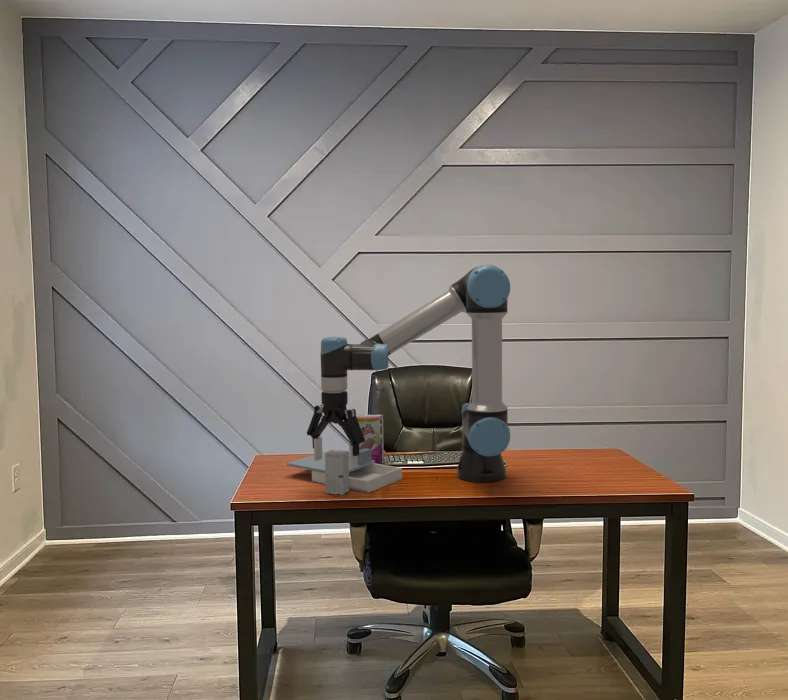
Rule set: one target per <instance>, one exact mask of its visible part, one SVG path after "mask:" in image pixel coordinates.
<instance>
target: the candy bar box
mask: <svg viewBox="0 0 788 700" xmlns="http://www.w3.org/2000/svg"><path fill="white" fill-rule="evenodd" d="M356 417H357V420H358V423H359V425H360V428H361V430H362V433H363V436H364V438H365V442H363V443H360V444H359V450H361V449H364V448H367V449H371V460H374V461H375V463H376V464H382V461H383V459H384V460H385V455H384V454H385V452H384V451H385V449H384V442H385V441H384V415H383V414H356ZM349 445H351V442H350V441H349ZM382 465H383V464H382Z"/></svg>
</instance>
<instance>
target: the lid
mask: <svg viewBox="0 0 788 700" xmlns="http://www.w3.org/2000/svg"><path fill="white" fill-rule="evenodd" d="M326 452H327V451H326ZM326 452H325V451H322V459H320V460H317V461H315V460H314V454H312V455H309V456H308V455H307V456H306V457H302V458H299V459H296V460H291V461H290V462H286V466H287V467H293V468H297V469H302V470H303V469H304V470H308V471H311V472H312V471H318V472H323V473H325V453H326ZM373 463H375V461H374V460H371V449H367V448H364V449H361V450H359V455H358V466H356V467H353V468H350V464H349V472H351V471H354V470H357V469H359V468H362V467H365V466H368V465H370V464H373Z"/></svg>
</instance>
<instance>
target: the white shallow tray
mask: <svg viewBox="0 0 788 700" xmlns="http://www.w3.org/2000/svg"><path fill="white" fill-rule="evenodd" d="M401 480H403V468H402V467H400V466H399V467H398V466H392V465H388V464H387V465H386V464H376V463H373V464H370V465H368V466H365V467H362V468H359V469H357V470H354V471H351V472H349V490H350V489H352V490H351V491H355V490H356V491H355V492H360V491H361V493H365V492H366V494H369V492H370V493H372V492H374V491H376V489H377V490H379V489H382V488H384V487H386V486H388V485H391V484H393V483H397V482H398V481H401ZM311 482H312V483H316V482H317V483H316V484H321V483H322V484H321V485H325V473H323V472H318V471H312V470H311ZM371 491H372V492H371Z"/></svg>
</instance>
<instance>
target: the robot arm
mask: <svg viewBox="0 0 788 700" xmlns="http://www.w3.org/2000/svg"><path fill="white" fill-rule="evenodd" d="M510 291H511V282H510V279H509V277H508V275H507V273H506V272H505V271H504V270H503V269H501V268H500V267H498V266H496V265H492V264H486V265H480V266H476V267H474V268H472V269H470V270H469V271H468V272H467V273H466V274H465V275H463V276H462V277H461V278H459V279H458V280H457V281H455V282H454V283H452V284H451V285H449V288H448V290H447V291H446V292H444V293H442V294H441V295H439V296H437V297H436V298H434V299H432V300H431V301H429V302H428V303H426V304H424V305H422V306H421V307H419V308H418V309H416V310H414V311H413V312H411V313H408V315H405V316H404V317H402V318H401V319H399V320H398V321H396V322H394V323H392V324H391V325H389V326H388V327H385V329H383V330H381V331H379V332H378V333H376V334H374V335H372V336H371V337H369V338H367V339H364V340H363V341H362V342H360V343H356V344H353V343H352V344H351V343H348V341H347V338H346V337H344V336H342V337H341V336H329V337H324V338H323V339H321V341H320V376H321V377H320V379H321V380H320V384H321V385H320V388H321V394H320V395H321V398H320V399H321V404H318V405H317V404H316V405H315V406H314V408H313V415H312V418H311V421H310V423H309V425H308V428H307V431H306V435H307V436H310V437H311V438H312V448H313V455H314V460H315V461H317V460H320V459H322V452H323V438H322V433H323V432H324V430H325V429H326V427H327V426H328V424H329V423H330V424H331V423H333V424H335V425H338V426H340V427H341V430H342V431H343V432H344V434H345V435H346V437H347V438H348V441H349V443H350V442H351V445H350V444H349V445H348V446H349V449H348V450H349V464H350V468H353V467H356V466H358V455H359V444H360V443H363V442H365V438H364V436H363V433H362V430H361V428H360V425H359V423H358V420H357V417H356V415H357V412H356V408H352V409H347V404H348V399H349V398H348V395H349V394H348V391H347V390H348V371H376V372H377V371H385V370H388V368H389V356H390V355H392V354H394V353H396V352H397V351H398V350H399V351H400V349H402V348H403V347H405V346H407V345H409V344H410V343H412V342H414V341H416V340H417V339H419V338H420V337H422V336H423V335H426V334H427V333H428V332H431V331H432V330H434V329H435V328H437V327H439V326H441V325H442V324H443V323H446V322H447V321H449V320H450V319H452V318H454V317H456V316H457V315H459V314H460V313H466V315H468V317H470V319H471V383H472V384H471V389H472V393H471V396H472V397H471V398H472V399H471V402H467V403H464V404H463V405H462V407H461V412H460V413H461V426H462V427H461V429H462V430H461V432H462V433H461V436H462V438H461V439H462V440H461V442H462V443H461V444H462V452H461V455H460V458H459V462H458V465H457V468H456V471H457V472H456V474H457V477H458V479H462V480H464V481H468V482H474V483H491V482H496V481H501V480H504V479H505V478H506V477H507V468H506V464H505V462H504V459H503V456H502V453H503V452H504V451H506V449H508V446H509V444H510V442H511V431H510V427H509V425H508V421H509V420H508V406H507V405H506V404H505V403H504V402H503V320H504V319H503V318H504V317H506V315H508V299H509V296H510ZM322 415H323V416H322Z"/></svg>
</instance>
